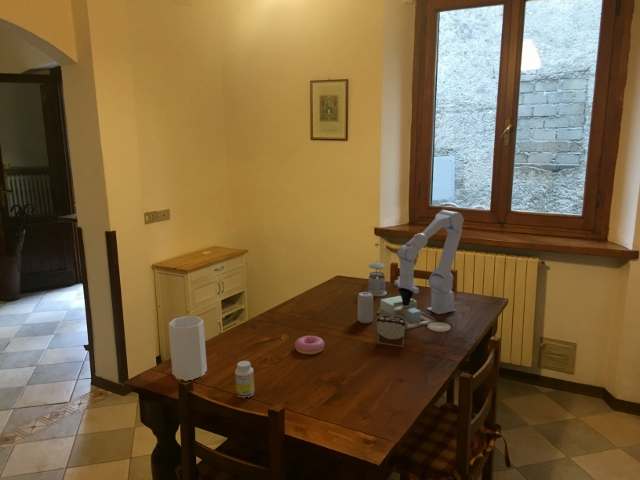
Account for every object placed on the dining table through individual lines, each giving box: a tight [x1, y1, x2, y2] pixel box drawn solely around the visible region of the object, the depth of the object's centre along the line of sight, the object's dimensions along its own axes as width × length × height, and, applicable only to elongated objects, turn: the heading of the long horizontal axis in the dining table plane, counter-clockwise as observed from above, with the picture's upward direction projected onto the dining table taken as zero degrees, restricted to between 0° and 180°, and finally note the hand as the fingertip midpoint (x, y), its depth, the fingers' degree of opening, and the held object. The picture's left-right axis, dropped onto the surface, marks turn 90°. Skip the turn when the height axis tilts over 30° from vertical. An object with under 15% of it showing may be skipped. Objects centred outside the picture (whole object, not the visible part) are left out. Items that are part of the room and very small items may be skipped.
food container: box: [374, 314, 407, 348], centre depth 195 cm, size 12×6×10 cm, turn 65°
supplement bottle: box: [234, 360, 256, 399], centre depth 159 cm, size 6×6×10 cm
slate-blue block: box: [405, 308, 422, 324], centre depth 215 cm, size 4×4×5 cm
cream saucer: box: [427, 321, 451, 333], centre depth 209 cm, size 9×9×1 cm
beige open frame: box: [376, 306, 437, 330], centre depth 220 cm, size 15×21×2 cm
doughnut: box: [294, 335, 325, 356], centre depth 190 cm, size 11×11×4 cm
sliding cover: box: [379, 295, 418, 314], centre depth 224 cm, size 12×10×6 cm
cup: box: [168, 315, 208, 382], centre depth 172 cm, size 11×11×18 cm
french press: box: [367, 242, 388, 297], centre depth 252 cm, size 10×12×25 cm
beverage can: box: [357, 291, 374, 324], centre depth 216 cm, size 6×6×12 cm
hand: (406, 305), depth 219 cm, fingers closed
